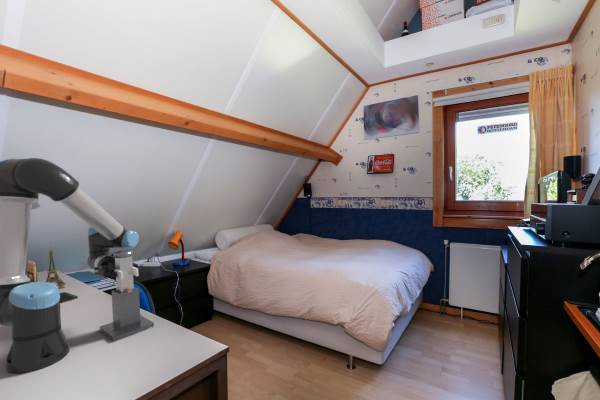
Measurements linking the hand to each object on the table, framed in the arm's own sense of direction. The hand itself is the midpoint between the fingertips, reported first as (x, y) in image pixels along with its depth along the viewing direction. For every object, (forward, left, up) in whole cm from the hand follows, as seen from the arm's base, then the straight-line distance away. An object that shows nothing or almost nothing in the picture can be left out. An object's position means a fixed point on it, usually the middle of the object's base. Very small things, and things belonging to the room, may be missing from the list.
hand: (129, 274), depth 110 cm
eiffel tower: (+68, +63, -22) cm, 96 cm away
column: (+4, +3, -20) cm, 21 cm away
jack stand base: (+4, +3, -22) cm, 23 cm away
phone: (+48, +48, -23) cm, 72 cm away
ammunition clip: (+88, +85, -22) cm, 125 cm away
